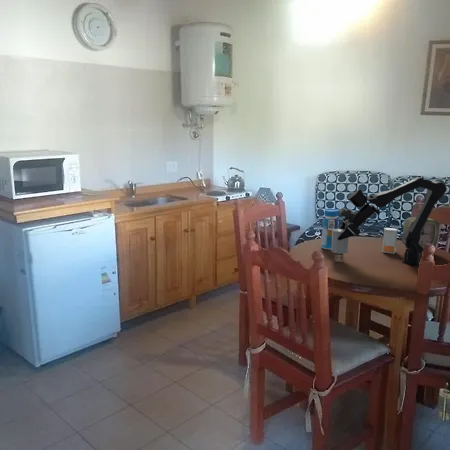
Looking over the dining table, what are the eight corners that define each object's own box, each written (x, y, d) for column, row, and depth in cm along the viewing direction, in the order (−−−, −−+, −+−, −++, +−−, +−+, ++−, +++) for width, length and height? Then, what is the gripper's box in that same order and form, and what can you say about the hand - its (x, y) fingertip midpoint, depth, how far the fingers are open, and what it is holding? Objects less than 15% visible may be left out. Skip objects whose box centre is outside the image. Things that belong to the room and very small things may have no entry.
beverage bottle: (317, 247, 240) (319, 209, 236) (327, 244, 245) (329, 207, 241) (331, 250, 234) (333, 212, 230) (341, 248, 239) (343, 210, 235)
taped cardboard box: (334, 259, 219) (335, 251, 218) (342, 260, 218) (343, 252, 217) (334, 261, 215) (335, 253, 214) (342, 262, 214) (343, 254, 214)
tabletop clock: (407, 255, 226) (411, 205, 221) (399, 250, 235) (404, 201, 230) (436, 255, 227) (441, 205, 222) (427, 250, 236) (432, 201, 231)
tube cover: (350, 251, 215) (351, 231, 213) (340, 254, 211) (341, 233, 209) (338, 248, 220) (339, 228, 218) (328, 251, 216) (329, 230, 214)
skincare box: (381, 252, 231) (383, 229, 229) (383, 250, 235) (385, 227, 233) (394, 254, 229) (396, 230, 226) (395, 252, 232) (397, 228, 230)
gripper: (347, 199, 219) (323, 221, 223) (354, 205, 201) (327, 229, 205) (363, 215, 220) (339, 237, 224) (371, 223, 202) (344, 247, 206)
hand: (337, 237), depth 214 cm, fingers closed on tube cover, 7 cm apart
